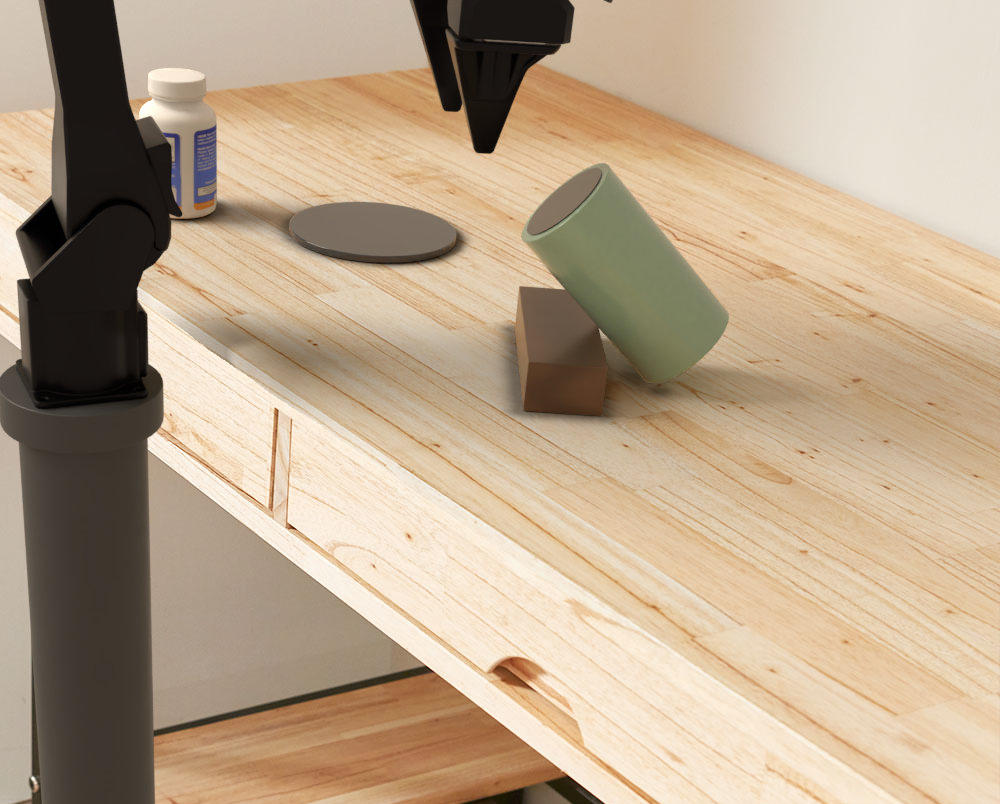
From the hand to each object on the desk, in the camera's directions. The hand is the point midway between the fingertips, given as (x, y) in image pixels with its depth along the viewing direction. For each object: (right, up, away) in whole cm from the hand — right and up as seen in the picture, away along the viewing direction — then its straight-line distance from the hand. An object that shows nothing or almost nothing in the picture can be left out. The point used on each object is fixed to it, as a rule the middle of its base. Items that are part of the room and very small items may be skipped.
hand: (466, 131), depth 93 cm
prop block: (+5, -15, -1) cm, 16 cm away
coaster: (-7, -3, +18) cm, 20 cm away
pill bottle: (-21, -1, +19) cm, 29 cm away
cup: (+9, -15, 0) cm, 17 cm away
